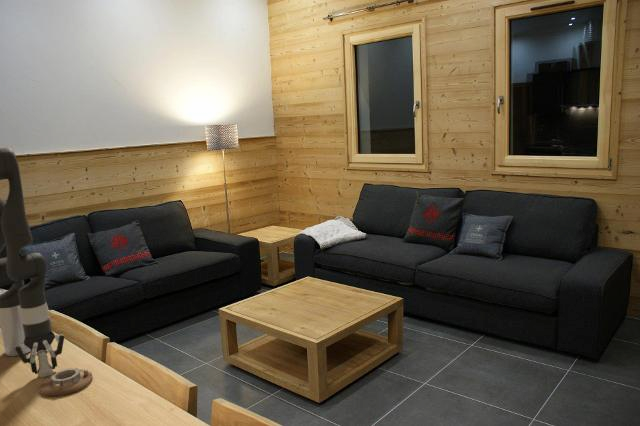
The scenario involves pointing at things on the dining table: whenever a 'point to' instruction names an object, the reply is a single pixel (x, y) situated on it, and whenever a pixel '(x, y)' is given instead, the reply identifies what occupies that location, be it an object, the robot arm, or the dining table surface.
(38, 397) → the dining table surface
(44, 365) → the rook chess piece
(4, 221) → the robot arm
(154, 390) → the dining table surface
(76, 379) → the carrier disc
